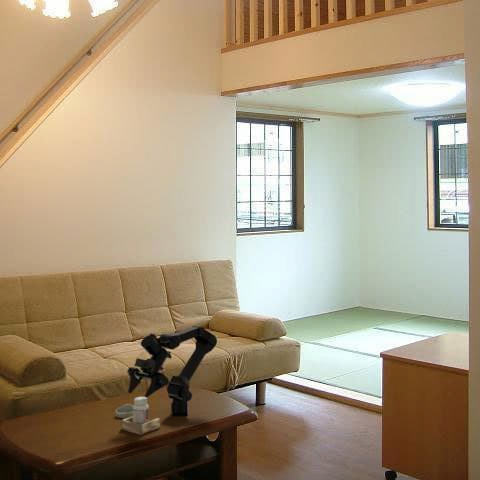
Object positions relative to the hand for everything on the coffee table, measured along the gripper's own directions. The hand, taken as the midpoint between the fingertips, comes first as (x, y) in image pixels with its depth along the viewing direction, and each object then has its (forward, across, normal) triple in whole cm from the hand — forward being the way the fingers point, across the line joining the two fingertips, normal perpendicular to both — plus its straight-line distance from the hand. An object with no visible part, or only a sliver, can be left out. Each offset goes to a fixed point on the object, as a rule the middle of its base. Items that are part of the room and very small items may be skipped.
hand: (137, 394), depth 264 cm
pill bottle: (+8, 0, +10) cm, 13 cm away
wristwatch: (+4, -16, +16) cm, 23 cm away
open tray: (+9, 0, +10) cm, 14 cm away
